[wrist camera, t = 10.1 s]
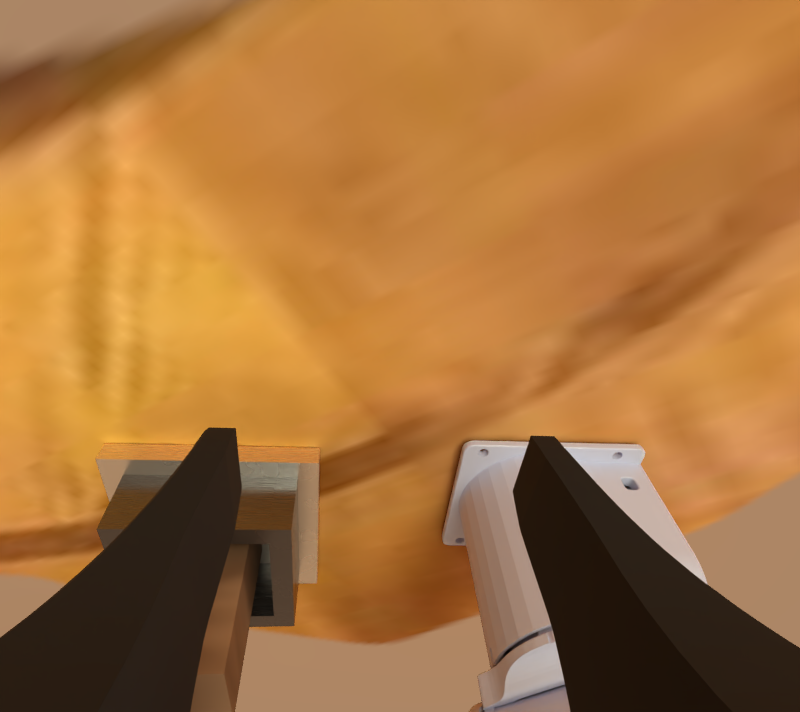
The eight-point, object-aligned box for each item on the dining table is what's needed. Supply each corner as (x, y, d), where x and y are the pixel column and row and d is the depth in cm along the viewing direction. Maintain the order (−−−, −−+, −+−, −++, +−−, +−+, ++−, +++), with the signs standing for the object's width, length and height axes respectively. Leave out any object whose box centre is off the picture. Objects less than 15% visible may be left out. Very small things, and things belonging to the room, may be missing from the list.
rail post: (257, 500, 26) (223, 673, 19) (262, 549, 28) (233, 719, 21) (173, 500, 25) (110, 677, 19) (185, 550, 28) (132, 723, 21)
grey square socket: (320, 448, 25) (314, 515, 22) (317, 567, 31) (313, 635, 28) (104, 443, 24) (64, 513, 21) (142, 568, 30) (116, 639, 27)
